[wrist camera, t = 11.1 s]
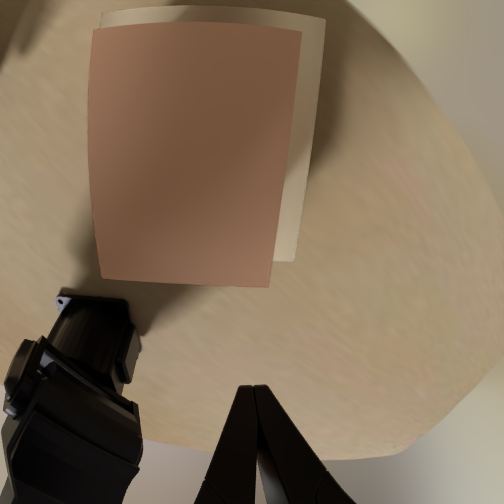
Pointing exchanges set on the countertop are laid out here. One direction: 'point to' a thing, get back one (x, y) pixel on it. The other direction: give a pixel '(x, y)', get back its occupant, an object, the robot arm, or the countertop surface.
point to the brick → (189, 149)
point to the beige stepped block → (303, 95)
